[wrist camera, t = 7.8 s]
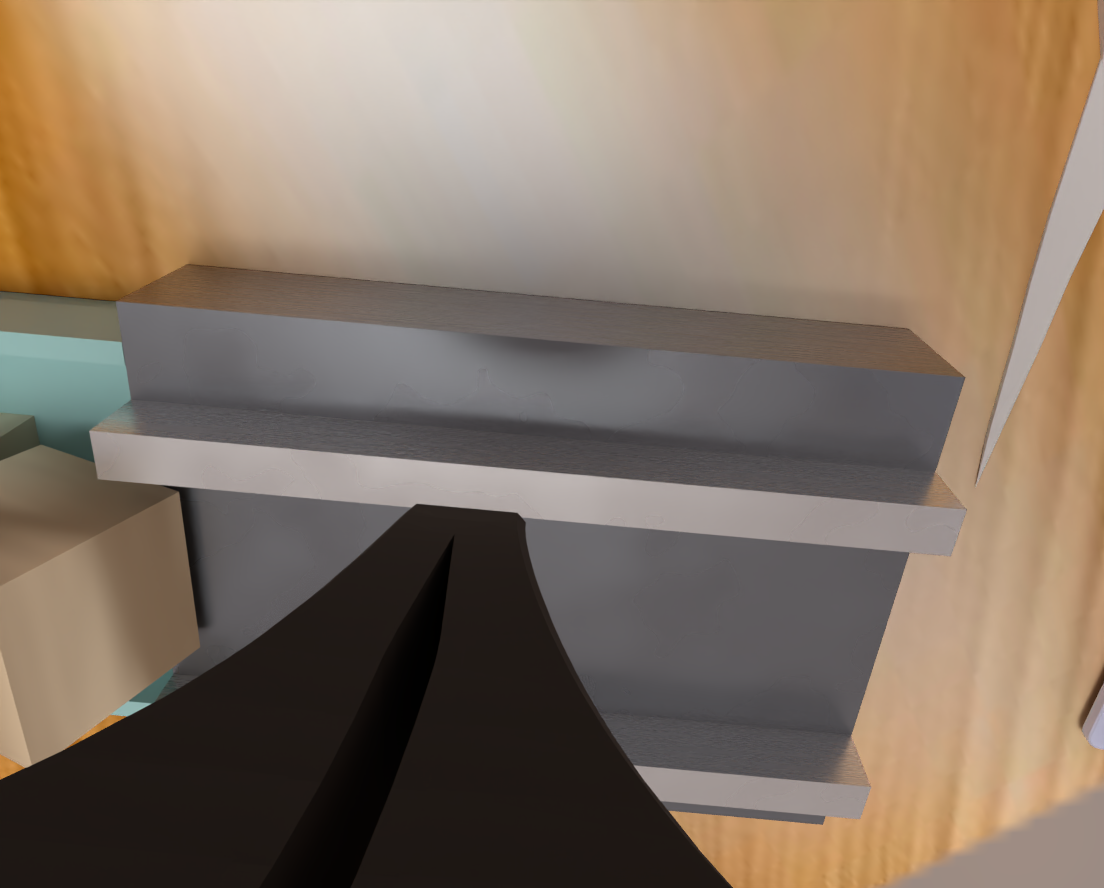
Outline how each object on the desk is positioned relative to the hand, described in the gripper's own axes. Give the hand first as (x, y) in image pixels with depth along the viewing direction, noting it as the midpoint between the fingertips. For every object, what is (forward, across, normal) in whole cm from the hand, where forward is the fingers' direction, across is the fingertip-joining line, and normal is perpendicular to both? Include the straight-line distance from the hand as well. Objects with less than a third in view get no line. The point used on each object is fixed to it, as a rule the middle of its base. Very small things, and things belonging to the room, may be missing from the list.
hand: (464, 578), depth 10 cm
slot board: (+9, 0, +5) cm, 11 cm away
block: (+7, +8, +5) cm, 12 cm away
